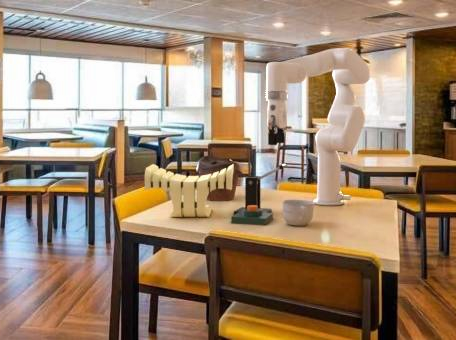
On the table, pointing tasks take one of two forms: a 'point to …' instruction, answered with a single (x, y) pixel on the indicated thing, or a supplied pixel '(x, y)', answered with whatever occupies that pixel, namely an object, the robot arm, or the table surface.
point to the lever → (272, 171)
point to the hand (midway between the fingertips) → (276, 143)
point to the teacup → (298, 212)
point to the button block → (252, 217)
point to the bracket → (252, 194)
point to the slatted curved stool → (188, 189)
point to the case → (217, 164)
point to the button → (252, 208)
